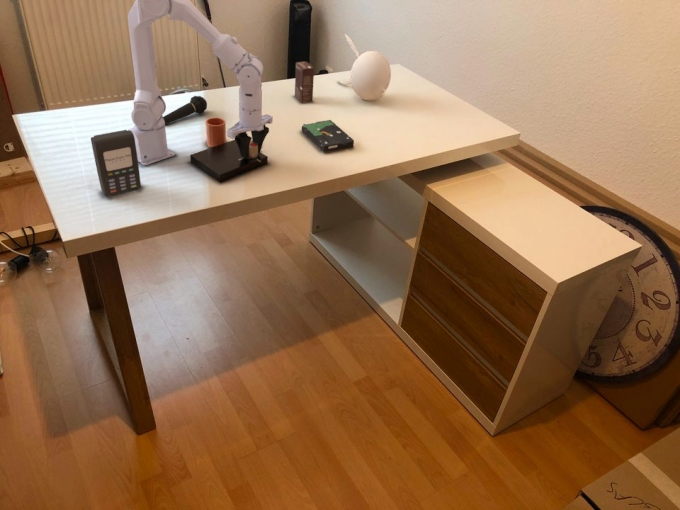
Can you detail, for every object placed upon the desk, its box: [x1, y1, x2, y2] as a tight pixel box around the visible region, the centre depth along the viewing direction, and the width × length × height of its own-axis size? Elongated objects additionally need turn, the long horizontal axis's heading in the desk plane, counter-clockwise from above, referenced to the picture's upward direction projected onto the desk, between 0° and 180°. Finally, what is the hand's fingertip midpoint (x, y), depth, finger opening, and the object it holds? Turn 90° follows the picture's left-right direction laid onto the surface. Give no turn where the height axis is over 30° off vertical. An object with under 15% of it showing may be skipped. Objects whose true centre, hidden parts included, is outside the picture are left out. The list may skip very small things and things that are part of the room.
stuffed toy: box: [339, 33, 392, 101], centre depth 192 cm, size 19×14×25 cm
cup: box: [205, 117, 227, 148], centre depth 156 cm, size 5×5×7 cm
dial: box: [247, 140, 258, 159], centre depth 149 cm, size 4×4×4 cm
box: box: [294, 61, 315, 104], centre depth 185 cm, size 6×4×12 cm
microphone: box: [163, 95, 208, 126], centre depth 167 cm, size 6×6×20 cm
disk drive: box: [301, 119, 355, 153], centre depth 166 cm, size 10×3×15 cm
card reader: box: [90, 129, 142, 197], centre depth 130 cm, size 9×4×15 cm, turn 126°
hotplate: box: [189, 139, 269, 184], centre depth 149 cm, size 17×14×3 cm
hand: (250, 154), depth 149 cm, fingers closed on dial, 4 cm apart
